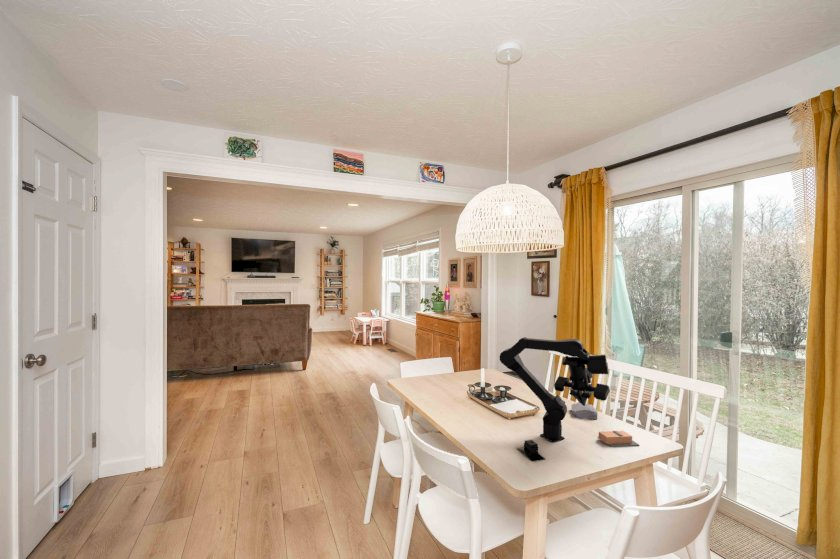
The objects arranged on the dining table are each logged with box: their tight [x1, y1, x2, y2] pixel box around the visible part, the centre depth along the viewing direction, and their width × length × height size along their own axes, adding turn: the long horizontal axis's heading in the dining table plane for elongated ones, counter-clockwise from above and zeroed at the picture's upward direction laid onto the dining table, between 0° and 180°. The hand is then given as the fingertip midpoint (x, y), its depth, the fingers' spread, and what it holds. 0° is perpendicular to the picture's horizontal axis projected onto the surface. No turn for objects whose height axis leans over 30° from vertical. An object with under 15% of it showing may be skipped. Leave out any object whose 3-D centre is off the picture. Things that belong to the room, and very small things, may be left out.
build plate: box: [516, 439, 546, 462], centre depth 128 cm, size 12×7×5 cm, turn 17°
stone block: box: [571, 402, 599, 420], centre depth 167 cm, size 12×5×10 cm
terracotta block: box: [598, 430, 633, 445], centre depth 139 cm, size 3×5×10 cm
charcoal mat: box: [597, 435, 640, 448], centre depth 139 cm, size 11×8×1 cm
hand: (584, 404), depth 144 cm, fingers closed
